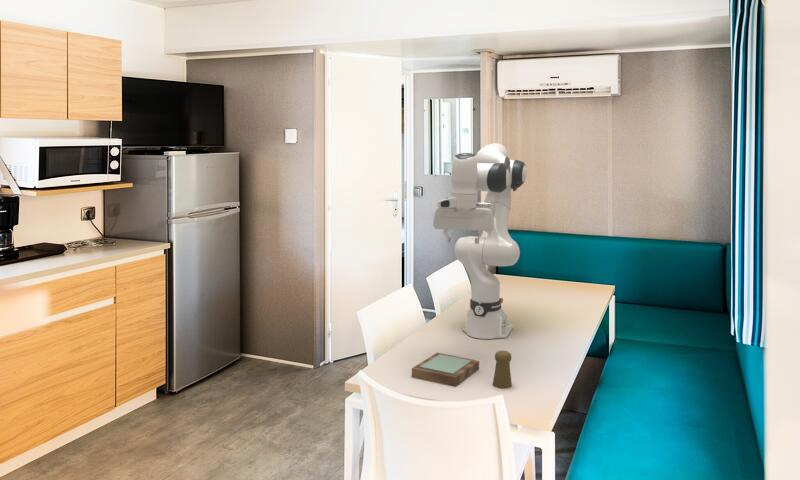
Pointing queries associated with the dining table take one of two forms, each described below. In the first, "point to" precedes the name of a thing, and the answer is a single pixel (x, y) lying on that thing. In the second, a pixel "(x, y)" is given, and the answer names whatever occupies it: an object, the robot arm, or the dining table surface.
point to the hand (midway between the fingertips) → (462, 243)
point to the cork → (502, 370)
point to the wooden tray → (445, 369)
